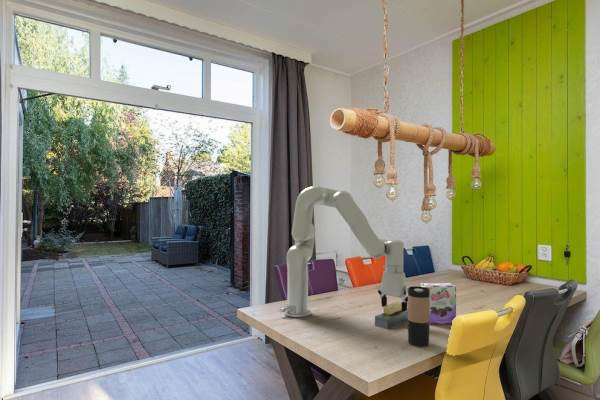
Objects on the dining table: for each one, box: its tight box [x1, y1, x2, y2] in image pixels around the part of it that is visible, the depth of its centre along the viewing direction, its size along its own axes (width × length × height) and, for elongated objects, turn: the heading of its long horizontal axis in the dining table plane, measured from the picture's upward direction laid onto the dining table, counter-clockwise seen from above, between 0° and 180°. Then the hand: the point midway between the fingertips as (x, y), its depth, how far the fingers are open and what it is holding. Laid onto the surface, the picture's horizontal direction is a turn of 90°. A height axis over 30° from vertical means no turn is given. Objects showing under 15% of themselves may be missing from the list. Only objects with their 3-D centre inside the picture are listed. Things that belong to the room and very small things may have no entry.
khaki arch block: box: [383, 301, 402, 316], centre depth 157 cm, size 11×3×6 cm, turn 135°
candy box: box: [419, 282, 457, 325], centre depth 157 cm, size 14×6×16 cm, turn 94°
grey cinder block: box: [374, 308, 408, 330], centre depth 157 cm, size 20×6×4 cm, turn 135°
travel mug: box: [407, 285, 431, 348], centre depth 133 cm, size 8×8×20 cm
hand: (394, 308), depth 157 cm, fingers open, 9 cm apart
